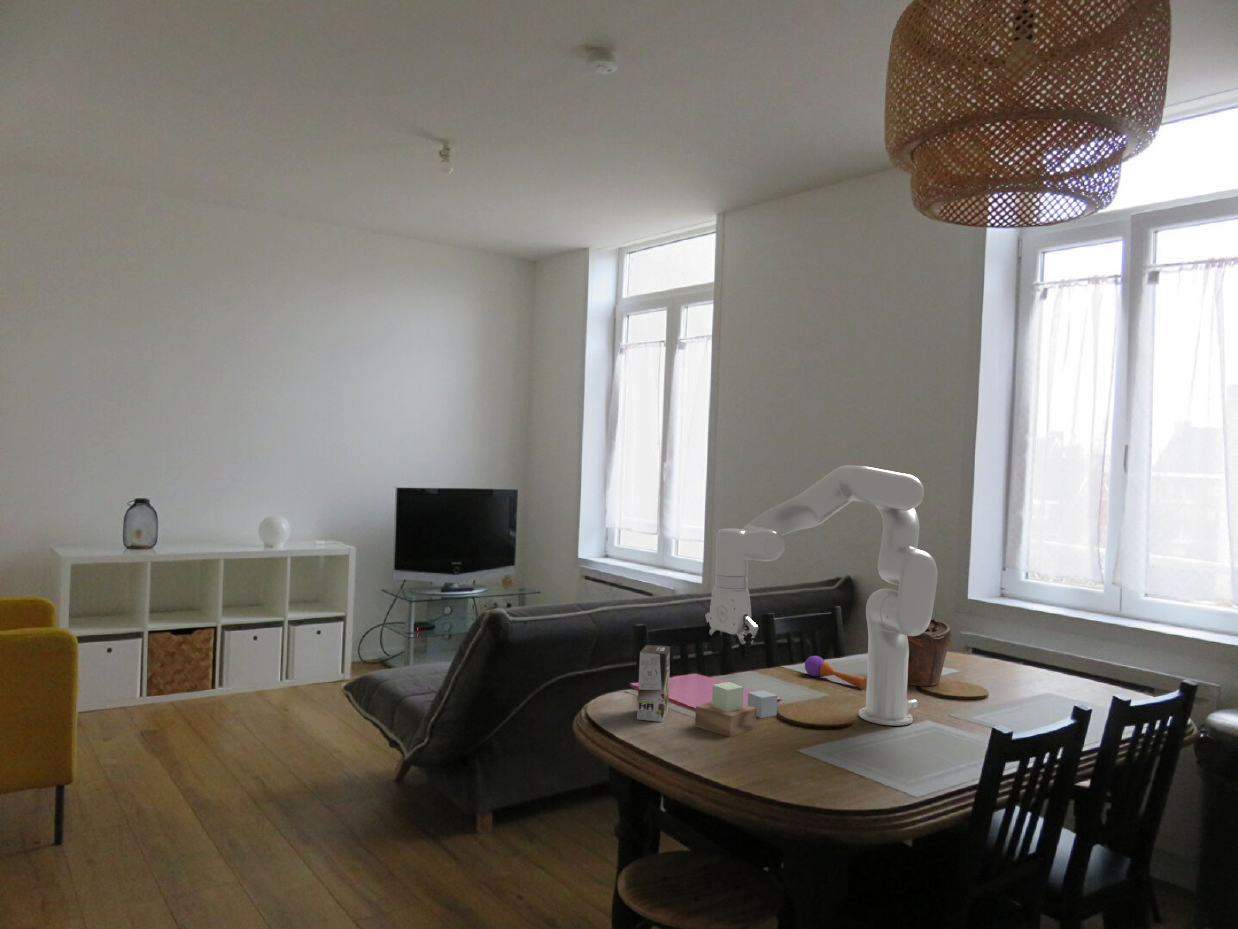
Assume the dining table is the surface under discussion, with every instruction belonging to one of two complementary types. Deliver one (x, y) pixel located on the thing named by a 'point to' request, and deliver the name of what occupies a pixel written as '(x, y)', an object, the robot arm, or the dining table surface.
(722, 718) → the walnut base block
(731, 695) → the sage block
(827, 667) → the purple and orange maraca
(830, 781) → the dining table surface
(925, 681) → the brown plant pot
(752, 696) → the slate block
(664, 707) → the coffee box
